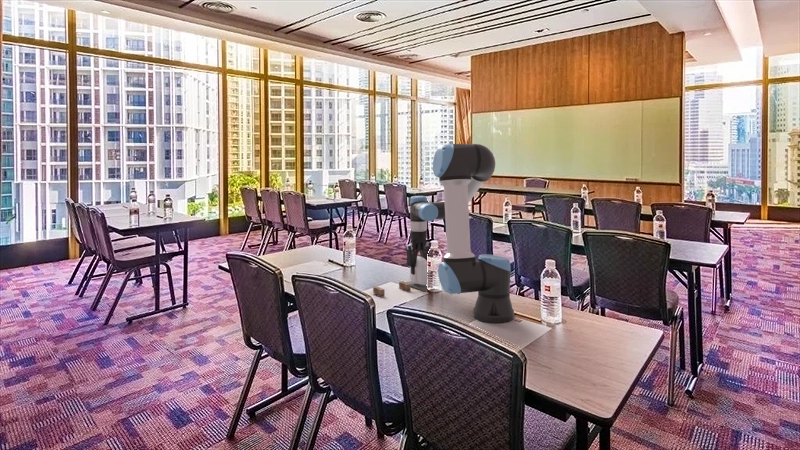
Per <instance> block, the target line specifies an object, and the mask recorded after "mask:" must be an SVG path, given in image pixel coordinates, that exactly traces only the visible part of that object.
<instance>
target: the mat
mask: <svg viewBox="0 0 800 450" xmlns="http://www.w3.org/2000/svg"><path fill="white" fill-rule="evenodd" d="M405 282H406V283H409V284H411V286H412V287H411V288H413V287H414V289H416V288H417V290H419V291H421V292H428V291H427V290H428V289H427V286H426V285H427V284H426V285H421V284H418V283H415V282H412V281H405Z"/></svg>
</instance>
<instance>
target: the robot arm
mask: <svg viewBox="0 0 800 450" xmlns="http://www.w3.org/2000/svg"><path fill="white" fill-rule="evenodd" d="M495 168H496V160H495V156H494V153H493V152H492V151H491V150H490V148H488V147H487V146H485V145H482V144H479V143H449V144H448V143H447V144H442V145H441V144H440V145H439V146H438V147H437V149H436V151H435V152H434V156H433V161H432V171H433V175H434V176H435V177H436V178H438V180H439V181H438V182H439V184H440V185H442V187H443V195H444V196H443V198H444V199H443V200H444V201H438V202H436V201H435V202H434V201H433V202H428V198H427V196H425V195H413V196H411V197H409V198H410V199H409V211H410V213H409V214H410V215H409V216H410V218H409V221H410V222H409V223H410V225H409V226H410V233H409V234H410V235H409V236H410V237H409V238H410V243H409V244H406V245H405V249H406V266H407V267H409V268H410V267H411V274H412V281H415V282H417V268H416V267H415V266H416V260H417V256H418V254H420V255H419V256H421V257H423V258H424V259H426V260H427V254H429V253H428V251H429V249H432V248H430V247H432V246H433V245H432V242H430V241H427V238H428V231H427V229H428V222H433V221H435V220H436V221H437V220H445V235H446V237H445V238H446V239H445V241H446V253H445V254H444V255H443V258H442V259H443V260H442V261H441V262H440V263H439V264H438V266H437V273H438V274H437V275H438V280H439V283H440V286H441V287H442V290H443V291H444V292H446V293H447V294H451V295H453V294H455V295H460V294H466V293H476V292H477V299H476V300H475V305H474V307H473V311H472V313H473V314H472V316H473V318H474V319H476V320H478V321H481V322H484V323H490V322H491V324H492V323H493V324H501V323H509V322H511V321H513V320H514V319H515V310H514V308H513V305H512V300H511V296H510V295H511V294H510V293H511V271H512V270H511V262H510V260H509V259H508V258H506V257H505V256H501V255H494V254H485V253H484V254H482V253H481V254H479V255H478V258H477V259H476V255H475V254H474V253H473V252H472V250H471V235H470V234H471V232H470V231H471V230H470V212H469V203H470V202H471V200H472V199H473V198H474V196H475V195H476V193H477V192H479V190H480V188H481V186H482V185H483V184H484V183H485V182H487V181H489V180H490V179H491V177H492V176H493V174H494V172H495V170H496V169H495Z"/></svg>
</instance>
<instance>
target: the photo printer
mask: <svg viewBox="0 0 800 450" xmlns="http://www.w3.org/2000/svg"><path fill="white" fill-rule="evenodd" d="M415 267H416V268H417V282H415V281H412V274H411V267H409V280H410V281H412V282H415V283H418V284H421V285H428V283H427V260H426V259H424V258H423V257H421V255H417V260H416V266H415ZM410 281H409V282H410Z"/></svg>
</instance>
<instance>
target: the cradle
mask: <svg viewBox="0 0 800 450" xmlns="http://www.w3.org/2000/svg"><path fill="white" fill-rule="evenodd" d="M406 282H407V281H399V282H398V285H399V286H398V288H401V289H400V290H402V289H403V290H402V291H405V290H406V291H405V292H410V291H409V290H411V288H412V287H411V284H409V283H406ZM372 293H375V294H377V295H379V296H378V297H380V296H383V297H385V288H382V287H380V286H377V285H376V286H373V287H372ZM375 294H374V295H375ZM377 295H376V296H377Z"/></svg>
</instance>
